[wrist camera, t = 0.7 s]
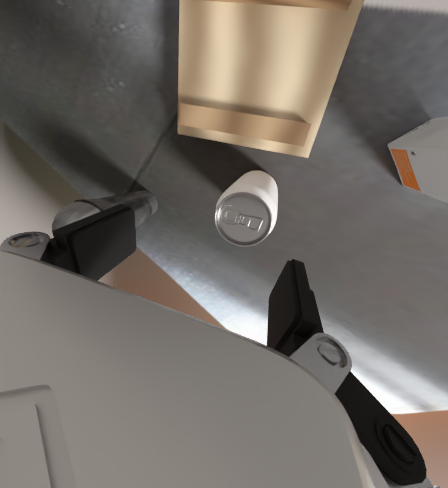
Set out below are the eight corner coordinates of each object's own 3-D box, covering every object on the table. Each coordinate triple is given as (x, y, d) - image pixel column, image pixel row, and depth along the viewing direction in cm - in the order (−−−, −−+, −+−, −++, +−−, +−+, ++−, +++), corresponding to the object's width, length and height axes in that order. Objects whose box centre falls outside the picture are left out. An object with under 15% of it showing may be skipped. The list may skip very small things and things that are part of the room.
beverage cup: (122, 187, 33) (-38, 233, 17) (153, 177, 31) (2, 219, 14) (140, 223, 36) (20, 294, 19) (170, 217, 34) (62, 292, 17)
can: (241, 164, 26) (218, 177, 16) (285, 177, 26) (288, 200, 16) (230, 205, 30) (205, 238, 20) (268, 218, 29) (262, 258, 19)
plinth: (361, -12, 17) (393, -72, 12) (303, 155, 24) (310, 158, 19) (197, -20, 19) (171, -73, 14) (190, 134, 26) (171, 133, 22)
